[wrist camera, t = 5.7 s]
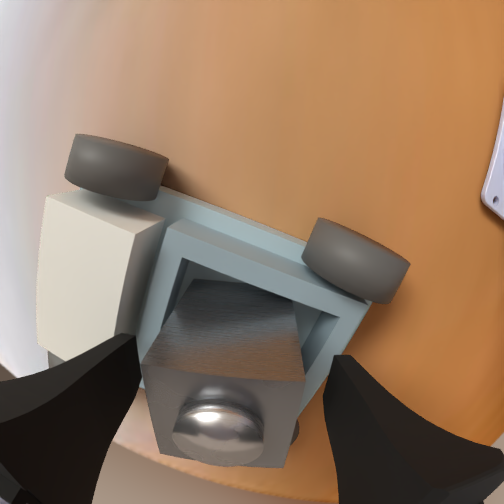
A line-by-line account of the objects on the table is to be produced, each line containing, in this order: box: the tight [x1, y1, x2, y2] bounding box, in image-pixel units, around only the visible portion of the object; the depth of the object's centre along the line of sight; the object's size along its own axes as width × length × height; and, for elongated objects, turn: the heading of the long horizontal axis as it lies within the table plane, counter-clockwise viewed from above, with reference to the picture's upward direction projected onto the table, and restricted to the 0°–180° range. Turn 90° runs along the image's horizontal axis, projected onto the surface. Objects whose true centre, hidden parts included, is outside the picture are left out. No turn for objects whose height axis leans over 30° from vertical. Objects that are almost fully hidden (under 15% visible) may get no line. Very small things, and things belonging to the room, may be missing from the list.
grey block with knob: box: [140, 279, 306, 468], centre depth 10 cm, size 4×4×7 cm
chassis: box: [36, 134, 410, 447], centre depth 12 cm, size 14×12×4 cm
